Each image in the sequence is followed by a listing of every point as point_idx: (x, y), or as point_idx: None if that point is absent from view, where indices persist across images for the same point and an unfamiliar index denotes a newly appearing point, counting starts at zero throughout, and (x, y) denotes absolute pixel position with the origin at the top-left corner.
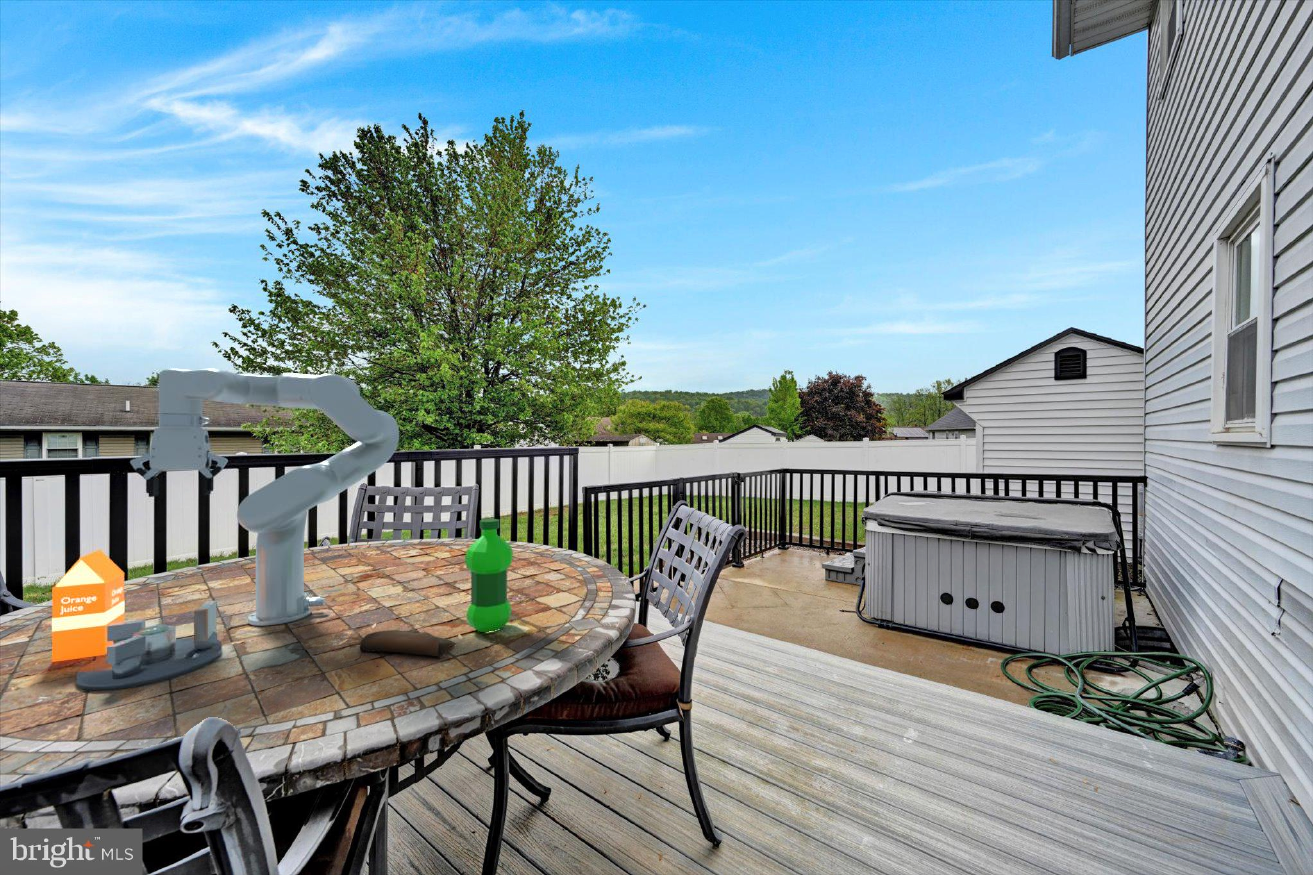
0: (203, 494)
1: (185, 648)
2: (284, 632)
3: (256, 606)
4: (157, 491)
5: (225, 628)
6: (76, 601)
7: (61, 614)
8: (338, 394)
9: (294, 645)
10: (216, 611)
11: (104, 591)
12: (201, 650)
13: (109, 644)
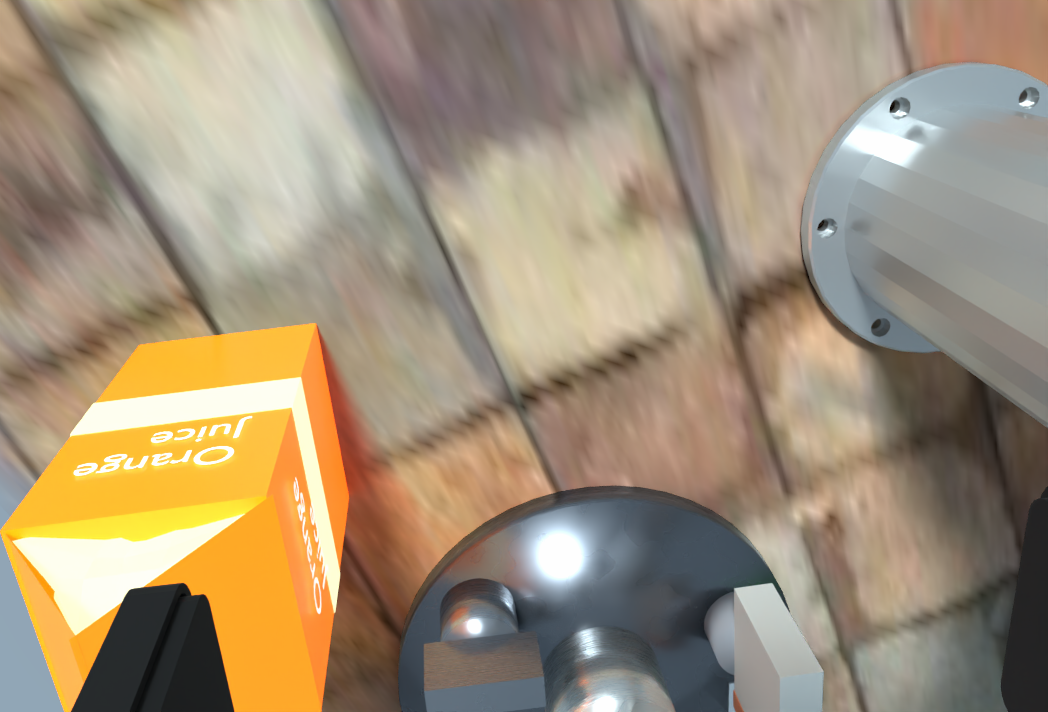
0: (1009, 692)
1: (672, 617)
2: (969, 450)
3: (879, 292)
4: (195, 679)
5: (719, 306)
6: None
7: None
8: None
9: (1010, 605)
10: (801, 633)
11: (322, 691)
12: None
13: (339, 475)
